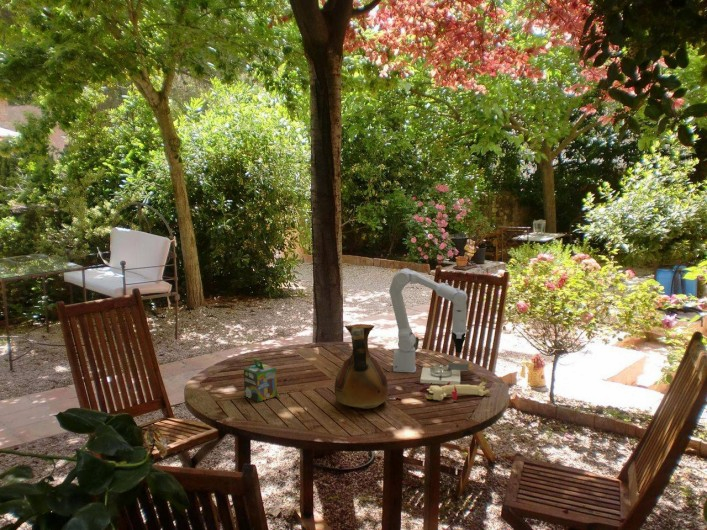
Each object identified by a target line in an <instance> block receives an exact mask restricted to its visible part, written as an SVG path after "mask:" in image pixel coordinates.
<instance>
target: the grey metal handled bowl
mask: <svg viewBox="0 0 707 530" xmlns="http://www.w3.org/2000/svg"><path fill="white" fill-rule="evenodd" d="M429 368H430V374H431V375H433V376H436V377H448V376H451V375H452V370H460V371H468V372H473V371H474V364H473V363H462V362H461V363H458V362H457V363H456V362H448V364H447V365H443V364H439V365H433V366H430V367H429Z"/></svg>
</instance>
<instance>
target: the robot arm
mask: <svg viewBox="0 0 707 530" xmlns="http://www.w3.org/2000/svg"><path fill="white" fill-rule="evenodd" d="M409 283H410V285H413V284H419V285H422V286H424V287H426V288H428V289H431V290H433V291H435V293H436V295H437V296H440V298H444V299H445V300H447V301H449V302H452V305H453V306H452V324H451V325H452V327H451V332H452V333H451V334H452V336H451V338H452V341H453V342H454V343H453V344H454V349H455V353H459V354H460V353H462V351H463V345H464V343H465V341H466V333H469V331H470V330H469V329H467V311H468V310H467V301H468V298H469V297H468V294H467V292H466V291H464V290H463V289H459V287H456V288H455V287H453V286H451V285H449V283H448V282H445V283H444V282H439V283H438V282H436V281H434V280H433V279H431V278H429V277H427V276H425V275H423V274H421V273H419V272H417V270H416V271H415V270H414V269H413V270H411V269H410V268H407V267H404V268H402V269H401V270H399V271H398V272H396V274H394V276H393V277H392V280H391V284H390V286H389V296H390V299H391V300H390V301H391V304H392V309H393V313H394V316H395V317H394V318H395V320H396V321H395V322H396V324H397V325H396V326H397V329H398V330H397V331H398V333H397V337H398V342H397V347H398V348H396V349H395V348H394V351H393V362H392V367H393V368H392V369H393V370H392V371H393V372H396V373H397V372H398V373H416V370H417V366H416V351H415V348H414V344H415V343H416V337H417V336H416V335H415V334H414V332H413V329H412V328H411V325H410V323H409V318H408V314H407V310H406V306H405V302H404V297H403V294H402V293H403V290H404V289H405V288H406V286H407V285H408V284H409Z"/></svg>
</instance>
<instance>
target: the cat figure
mask: <svg viewBox="0 0 707 530" xmlns="http://www.w3.org/2000/svg"><path fill="white" fill-rule="evenodd" d="M480 380H481V382H480V383H479V384H478V385H474V384H473V385H471V384H460V385H449V384H450V383H451V382H448V383H447V384H443V385H441V386H439V385H430V386H429V387H428V388H427V389H426V390H425V392H426V393H427V394H426V393H425V394H424V396H425V398H426V399H428V400H435V401H443V400H444V398H445V397H447V396H449V395H452V399H453V401H454V400H455V401H456V400H457V399H458V394H462V395H464V394H466V395H474V396H481V397H482V396H484V395H485V397H486V396H487V397H488V396H489V397H490V396H491V393H490V390H489V389H486V386H485V385H486V384H488V378H487V377H486V376H485V375H482V376H480ZM487 397H486V398H487Z"/></svg>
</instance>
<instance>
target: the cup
mask: <svg viewBox="0 0 707 530" xmlns="http://www.w3.org/2000/svg"><path fill="white" fill-rule="evenodd" d="M415 337H416V343H415V344H414V348H415V352H416V351H418V347H419V343H420V338H419V337H418V336H415Z"/></svg>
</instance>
